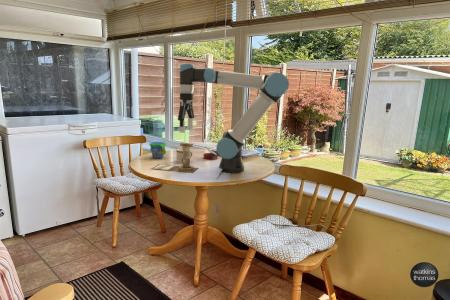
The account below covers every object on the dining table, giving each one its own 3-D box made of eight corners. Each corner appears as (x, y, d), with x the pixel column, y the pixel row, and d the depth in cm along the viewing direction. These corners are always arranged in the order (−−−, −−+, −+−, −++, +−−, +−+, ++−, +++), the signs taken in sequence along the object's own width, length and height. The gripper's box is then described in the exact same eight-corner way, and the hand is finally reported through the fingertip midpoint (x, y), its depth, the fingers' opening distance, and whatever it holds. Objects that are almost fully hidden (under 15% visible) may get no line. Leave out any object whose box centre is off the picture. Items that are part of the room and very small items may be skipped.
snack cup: (145, 156, 214) (145, 142, 212) (159, 154, 220) (159, 140, 218) (156, 160, 202) (155, 145, 200) (170, 158, 209) (170, 144, 206)
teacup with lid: (182, 166, 191) (182, 147, 188) (173, 163, 196) (173, 145, 194) (196, 162, 199) (196, 145, 197) (187, 160, 205) (187, 143, 203)
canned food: (207, 163, 219) (210, 150, 222) (219, 163, 213) (222, 150, 216) (198, 158, 210) (201, 144, 213) (209, 158, 205) (213, 145, 207)
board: (199, 170, 182) (199, 165, 181) (192, 175, 170) (193, 170, 169) (158, 166, 187) (158, 162, 186) (149, 171, 175) (149, 166, 175)
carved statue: (193, 169, 178) (193, 143, 175) (191, 171, 174) (191, 144, 171) (181, 168, 179) (181, 142, 176) (179, 169, 176) (179, 143, 172)
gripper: (187, 92, 181) (187, 127, 185) (171, 92, 157) (171, 133, 161) (199, 92, 179) (199, 128, 183) (185, 93, 155) (185, 134, 160)
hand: (186, 131), depth 172 cm, fingers open, 13 cm apart
